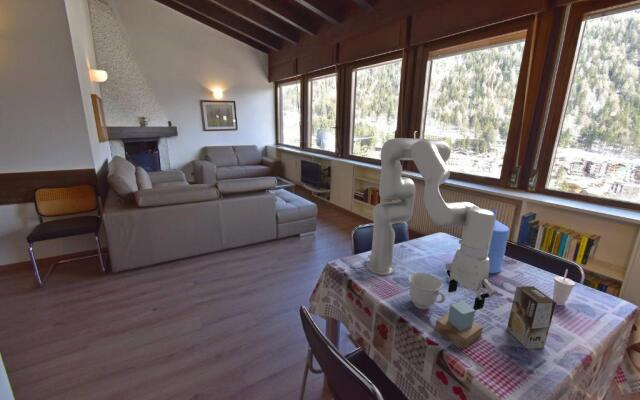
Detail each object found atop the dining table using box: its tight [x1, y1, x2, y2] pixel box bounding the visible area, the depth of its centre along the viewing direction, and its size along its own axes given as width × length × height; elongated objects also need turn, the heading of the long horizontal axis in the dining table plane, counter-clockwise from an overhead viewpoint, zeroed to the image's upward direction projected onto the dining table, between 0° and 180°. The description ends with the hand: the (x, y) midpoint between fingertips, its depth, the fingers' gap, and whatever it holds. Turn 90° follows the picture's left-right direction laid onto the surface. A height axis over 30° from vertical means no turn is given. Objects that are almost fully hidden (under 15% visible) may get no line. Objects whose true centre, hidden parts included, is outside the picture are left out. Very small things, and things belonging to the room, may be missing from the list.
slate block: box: [448, 301, 476, 331], centre depth 93 cm, size 5×5×6 cm
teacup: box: [407, 272, 446, 310], centre depth 106 cm, size 12×15×10 cm
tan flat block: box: [434, 312, 484, 350], centre depth 94 cm, size 10×10×4 cm
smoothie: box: [552, 268, 576, 306], centre depth 112 cm, size 6×6×14 cm
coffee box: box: [506, 285, 557, 350], centre depth 91 cm, size 9×6×16 cm
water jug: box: [488, 209, 510, 274], centre depth 137 cm, size 16×16×28 cm
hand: (464, 299), depth 92 cm, fingers open, 9 cm apart
